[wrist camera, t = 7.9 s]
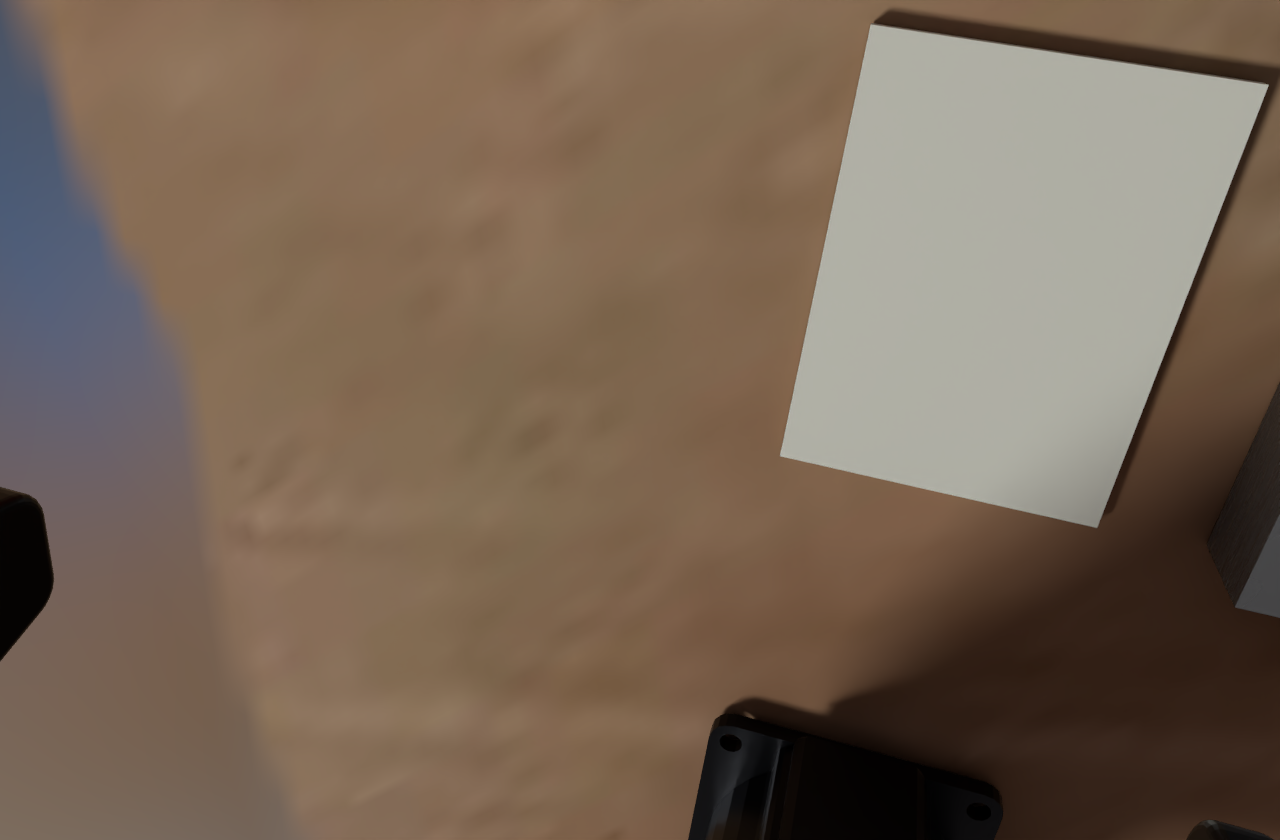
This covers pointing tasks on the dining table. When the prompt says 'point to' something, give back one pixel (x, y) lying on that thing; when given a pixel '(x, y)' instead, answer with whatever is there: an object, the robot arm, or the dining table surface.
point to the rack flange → (1253, 524)
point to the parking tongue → (1008, 265)
